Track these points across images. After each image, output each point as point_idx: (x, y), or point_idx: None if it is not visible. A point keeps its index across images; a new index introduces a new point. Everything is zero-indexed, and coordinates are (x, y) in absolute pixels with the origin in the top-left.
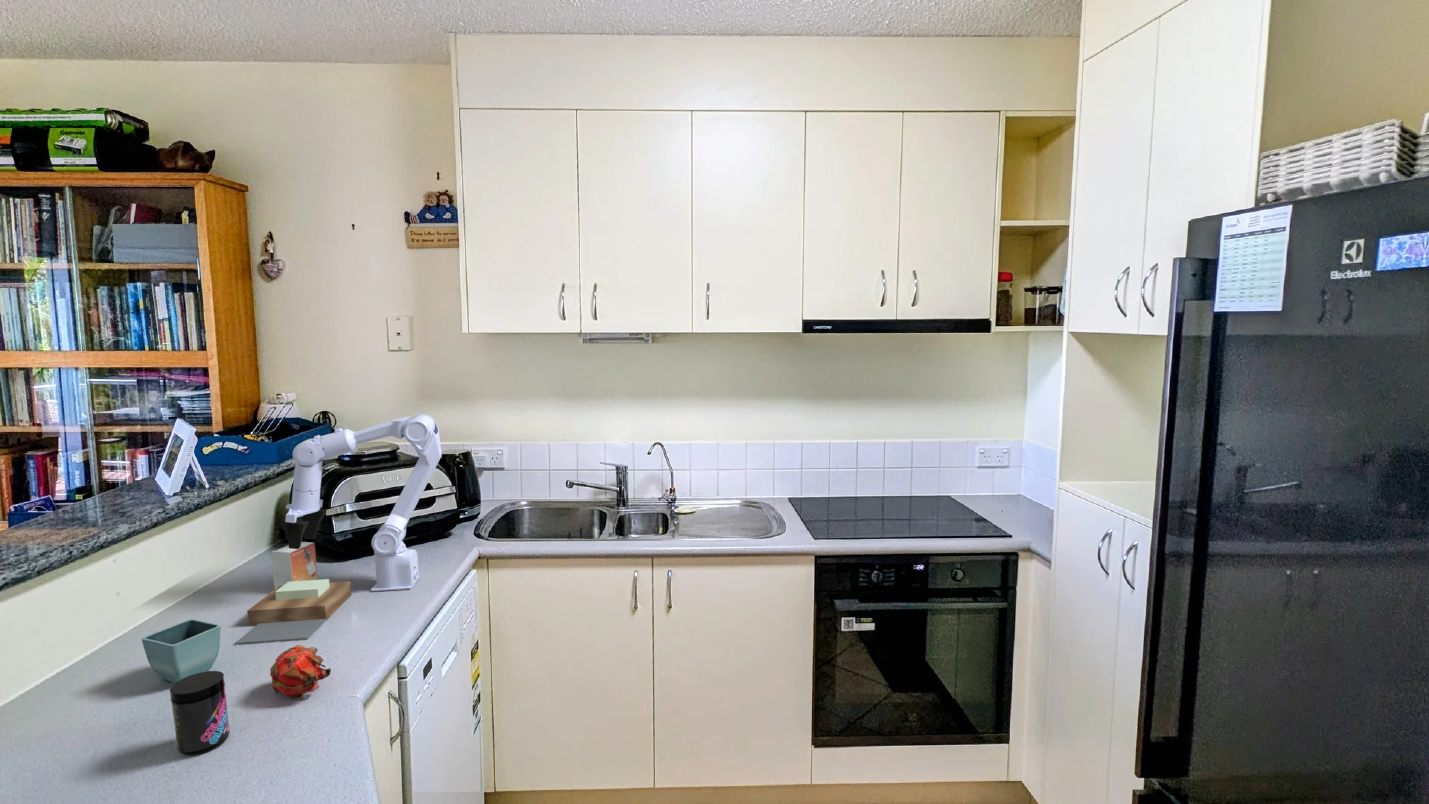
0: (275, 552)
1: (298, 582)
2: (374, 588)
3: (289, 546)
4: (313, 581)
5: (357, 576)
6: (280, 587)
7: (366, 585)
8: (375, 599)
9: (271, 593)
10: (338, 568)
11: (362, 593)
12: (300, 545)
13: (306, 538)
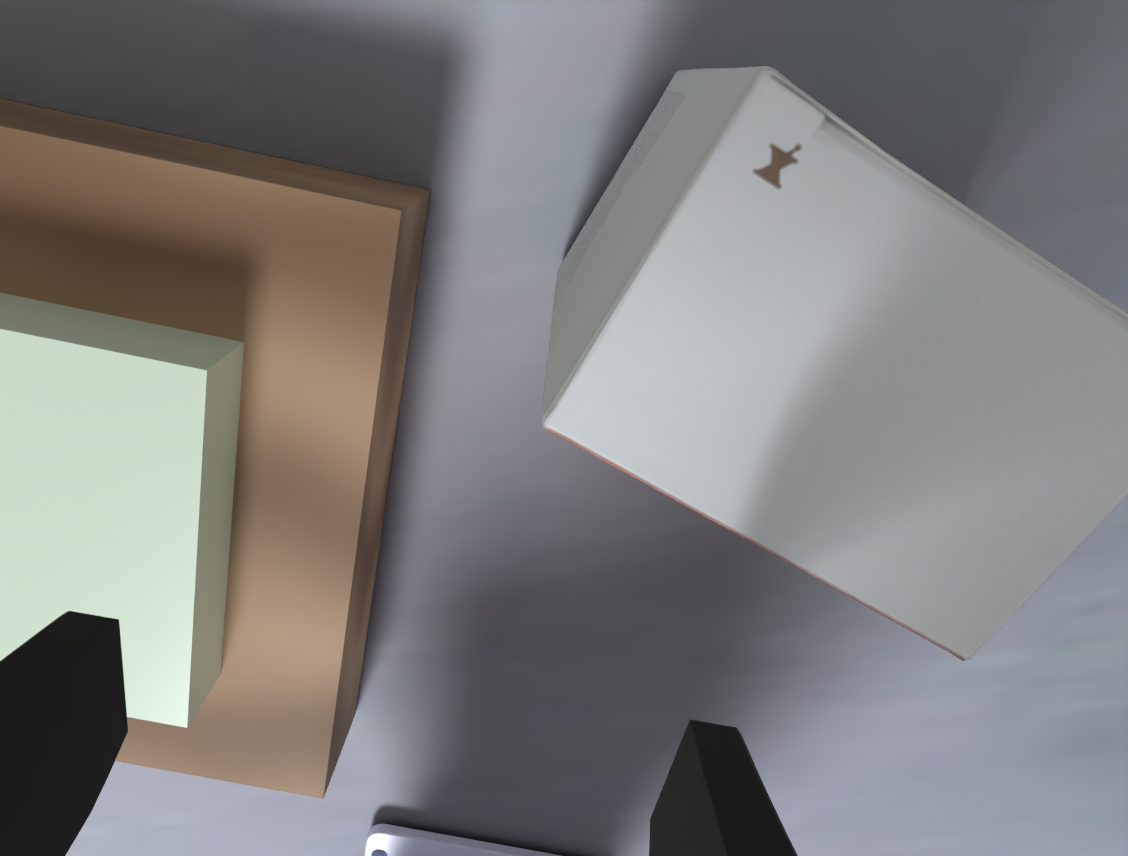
0: (700, 159)
1: (154, 481)
2: (389, 850)
3: (38, 641)
4: (153, 612)
5: (786, 701)
6: (343, 234)
7: (534, 779)
8: (224, 851)
9: (174, 184)
10: (1114, 533)
11: (369, 771)
12: (95, 787)
13: (682, 748)
